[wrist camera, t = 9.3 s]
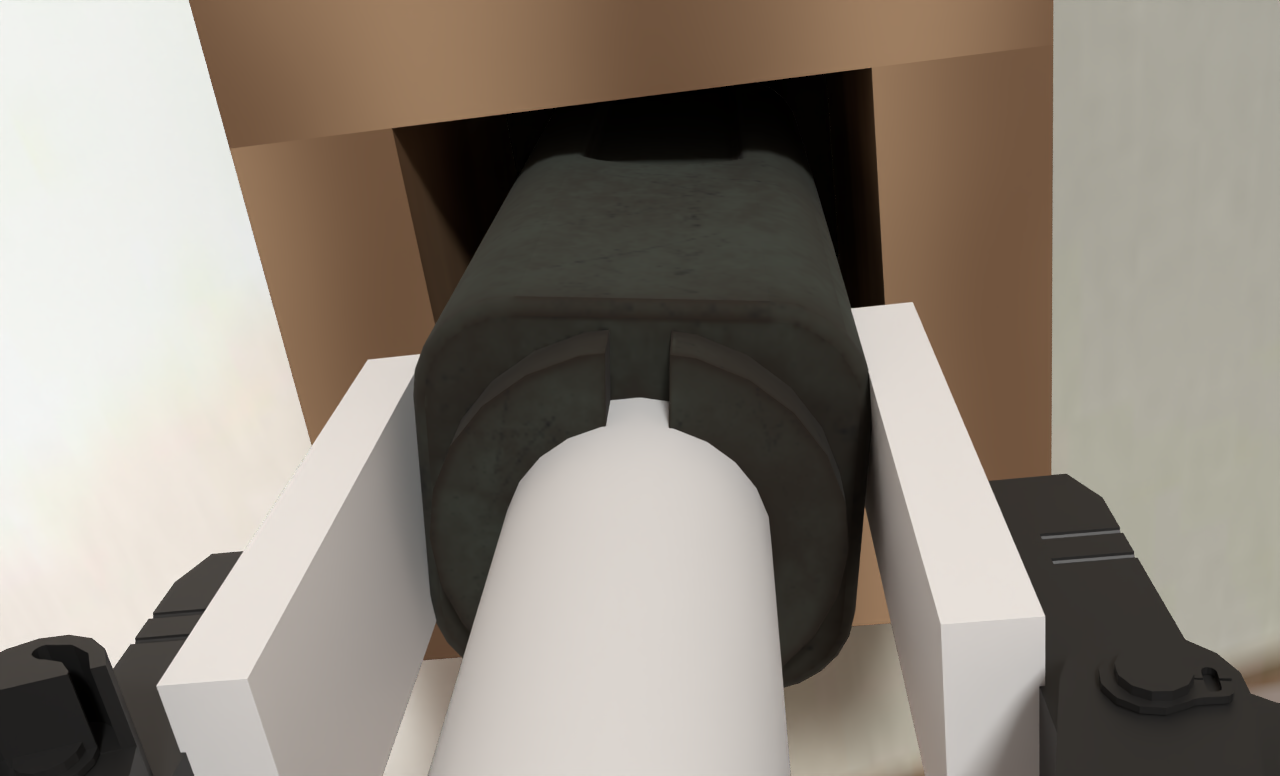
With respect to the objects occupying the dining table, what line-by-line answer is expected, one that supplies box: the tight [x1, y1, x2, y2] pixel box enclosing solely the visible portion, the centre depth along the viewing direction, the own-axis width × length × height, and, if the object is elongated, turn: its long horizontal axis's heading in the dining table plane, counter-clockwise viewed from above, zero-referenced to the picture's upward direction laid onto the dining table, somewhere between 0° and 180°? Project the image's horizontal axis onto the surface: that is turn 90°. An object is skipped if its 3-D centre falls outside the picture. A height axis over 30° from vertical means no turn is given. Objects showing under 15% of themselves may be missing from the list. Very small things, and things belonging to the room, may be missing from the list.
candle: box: [413, 82, 872, 776], centre depth 14 cm, size 5×5×25 cm
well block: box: [189, 0, 1053, 660], centre depth 23 cm, size 12×12×9 cm
